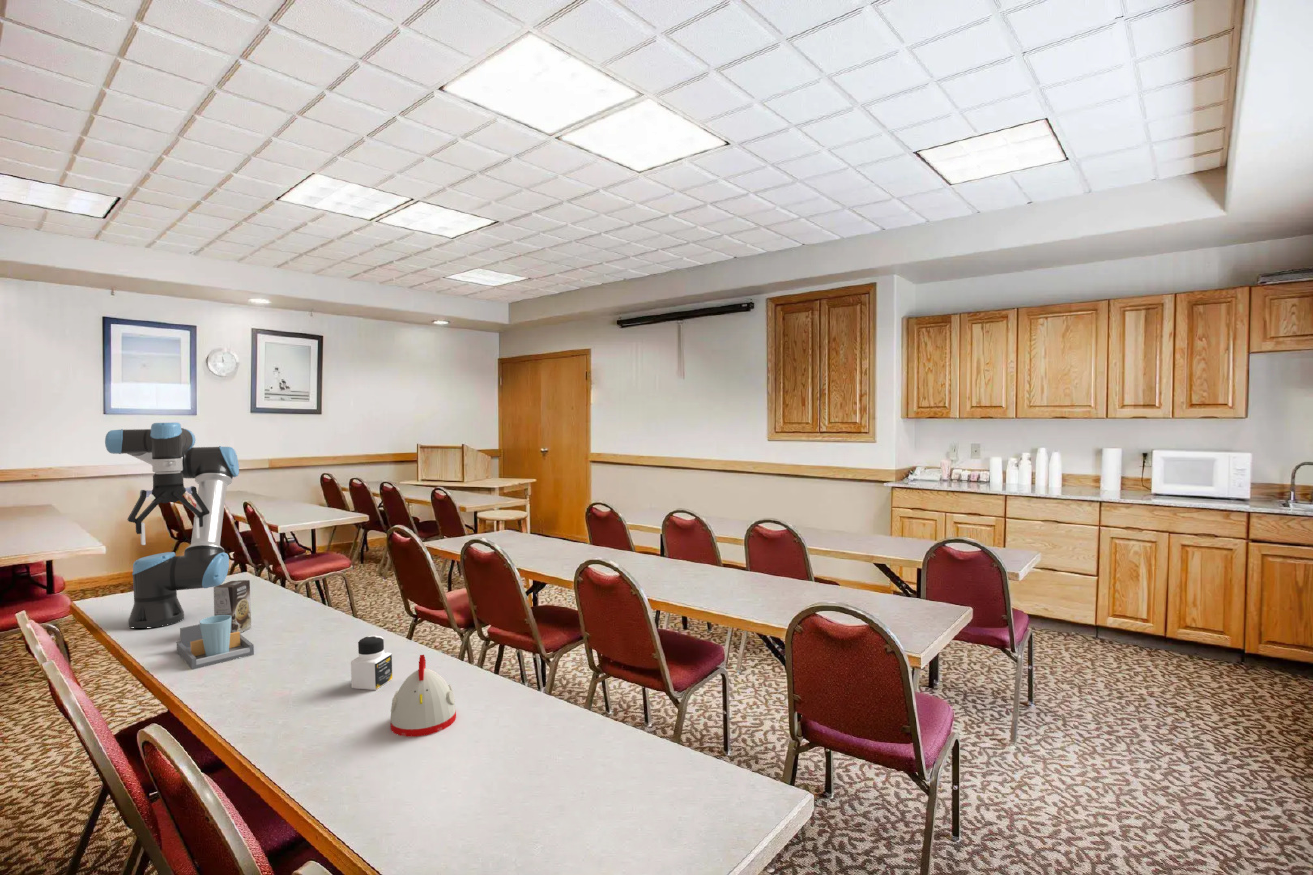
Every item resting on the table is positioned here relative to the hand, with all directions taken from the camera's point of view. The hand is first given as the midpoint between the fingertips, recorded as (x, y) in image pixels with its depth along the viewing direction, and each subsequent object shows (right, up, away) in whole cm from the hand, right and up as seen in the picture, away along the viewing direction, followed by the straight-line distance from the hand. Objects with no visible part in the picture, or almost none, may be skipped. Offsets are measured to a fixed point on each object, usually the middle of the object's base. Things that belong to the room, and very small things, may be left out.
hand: (170, 541), depth 202 cm
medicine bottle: (+77, -32, -34) cm, 90 cm away
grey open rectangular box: (+20, -32, -9) cm, 38 cm away
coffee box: (+13, -31, +10) cm, 35 cm away
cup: (+23, -31, -13) cm, 41 cm away
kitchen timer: (+98, -32, -55) cm, 117 cm away
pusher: (+19, -30, -8) cm, 37 cm away
